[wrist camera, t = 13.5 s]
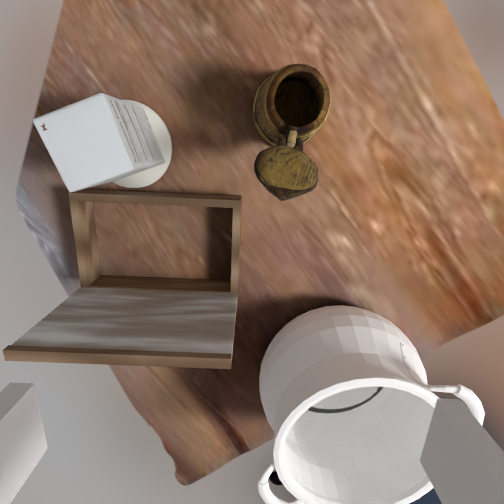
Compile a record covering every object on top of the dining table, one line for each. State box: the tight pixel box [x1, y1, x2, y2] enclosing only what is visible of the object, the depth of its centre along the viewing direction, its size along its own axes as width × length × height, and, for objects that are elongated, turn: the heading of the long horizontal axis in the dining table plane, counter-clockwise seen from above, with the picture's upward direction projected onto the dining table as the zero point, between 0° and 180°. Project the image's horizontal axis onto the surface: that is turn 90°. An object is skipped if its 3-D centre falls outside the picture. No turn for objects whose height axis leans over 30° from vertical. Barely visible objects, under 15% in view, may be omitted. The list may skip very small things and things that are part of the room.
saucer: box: [113, 100, 172, 188], centre depth 42 cm, size 11×11×1 cm
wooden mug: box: [253, 64, 330, 201], centre depth 34 cm, size 9×14×18 cm, turn 167°
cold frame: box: [3, 189, 242, 369], centre depth 38 cm, size 14×22×19 cm, turn 87°
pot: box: [257, 305, 485, 504], centre depth 45 cm, size 28×24×17 cm
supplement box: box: [32, 93, 166, 192], centre depth 36 cm, size 7×7×13 cm
